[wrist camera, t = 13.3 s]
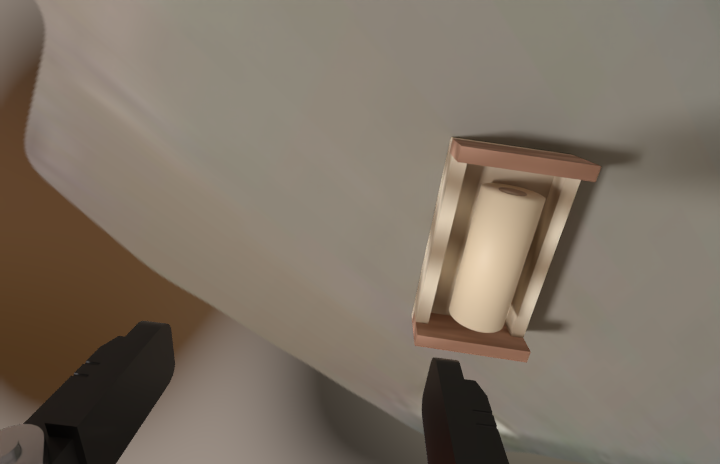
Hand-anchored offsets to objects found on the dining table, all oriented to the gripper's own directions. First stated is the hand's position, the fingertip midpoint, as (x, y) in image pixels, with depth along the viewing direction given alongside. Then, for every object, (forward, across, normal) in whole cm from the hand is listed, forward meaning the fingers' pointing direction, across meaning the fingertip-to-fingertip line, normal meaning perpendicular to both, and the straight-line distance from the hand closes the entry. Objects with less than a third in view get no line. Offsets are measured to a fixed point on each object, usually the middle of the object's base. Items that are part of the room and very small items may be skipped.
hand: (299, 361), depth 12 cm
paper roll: (+21, -13, +6) cm, 25 cm away
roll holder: (+24, -13, +6) cm, 28 cm away
